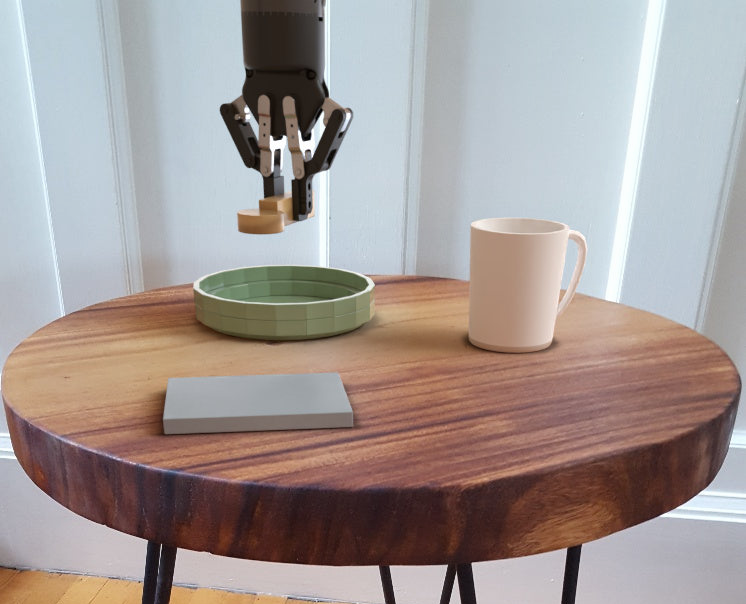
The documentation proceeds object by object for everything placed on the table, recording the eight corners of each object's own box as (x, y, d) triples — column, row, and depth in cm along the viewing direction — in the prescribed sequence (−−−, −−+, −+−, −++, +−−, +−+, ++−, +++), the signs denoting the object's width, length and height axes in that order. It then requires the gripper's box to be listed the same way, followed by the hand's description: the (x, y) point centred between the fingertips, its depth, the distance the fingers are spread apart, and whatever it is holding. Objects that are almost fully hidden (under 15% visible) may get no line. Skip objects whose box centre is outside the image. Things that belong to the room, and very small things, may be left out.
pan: (195, 345, 90) (191, 306, 88) (197, 300, 105) (194, 266, 103) (385, 339, 92) (386, 302, 90) (361, 296, 107) (361, 263, 105)
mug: (472, 355, 88) (480, 234, 82) (456, 330, 96) (462, 217, 90) (588, 353, 89) (604, 233, 83) (563, 328, 97) (577, 217, 91)
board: (164, 434, 70) (162, 419, 70) (169, 392, 78) (167, 377, 78) (353, 427, 72) (353, 411, 71) (338, 386, 80) (338, 372, 80)
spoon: (271, 236, 88) (270, 207, 87) (229, 232, 90) (227, 204, 88) (325, 217, 98) (325, 191, 96) (286, 214, 99) (286, 188, 98)
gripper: (194, 6, 85) (209, 219, 94) (336, 8, 81) (337, 230, 90) (235, 8, 91) (245, 208, 100) (369, 10, 86) (367, 219, 96)
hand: (289, 218), depth 95 cm, fingers closed on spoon, 2 cm apart
